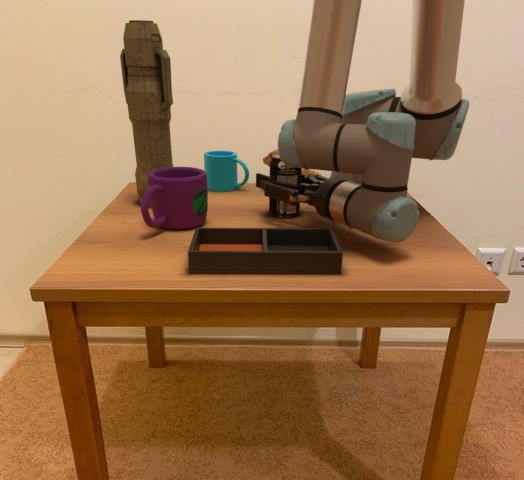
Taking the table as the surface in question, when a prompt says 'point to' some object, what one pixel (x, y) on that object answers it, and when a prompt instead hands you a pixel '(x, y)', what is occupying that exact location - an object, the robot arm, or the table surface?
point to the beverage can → (287, 176)
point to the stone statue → (147, 98)
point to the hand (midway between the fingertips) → (271, 177)
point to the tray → (265, 251)
